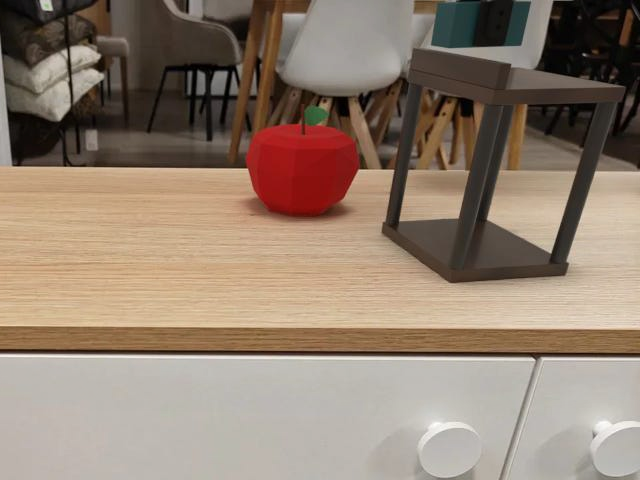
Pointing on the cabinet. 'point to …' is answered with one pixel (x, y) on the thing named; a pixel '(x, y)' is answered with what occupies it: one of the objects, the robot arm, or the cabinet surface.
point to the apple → (302, 165)
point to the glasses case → (473, 24)
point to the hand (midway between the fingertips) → (476, 42)
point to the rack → (492, 167)
